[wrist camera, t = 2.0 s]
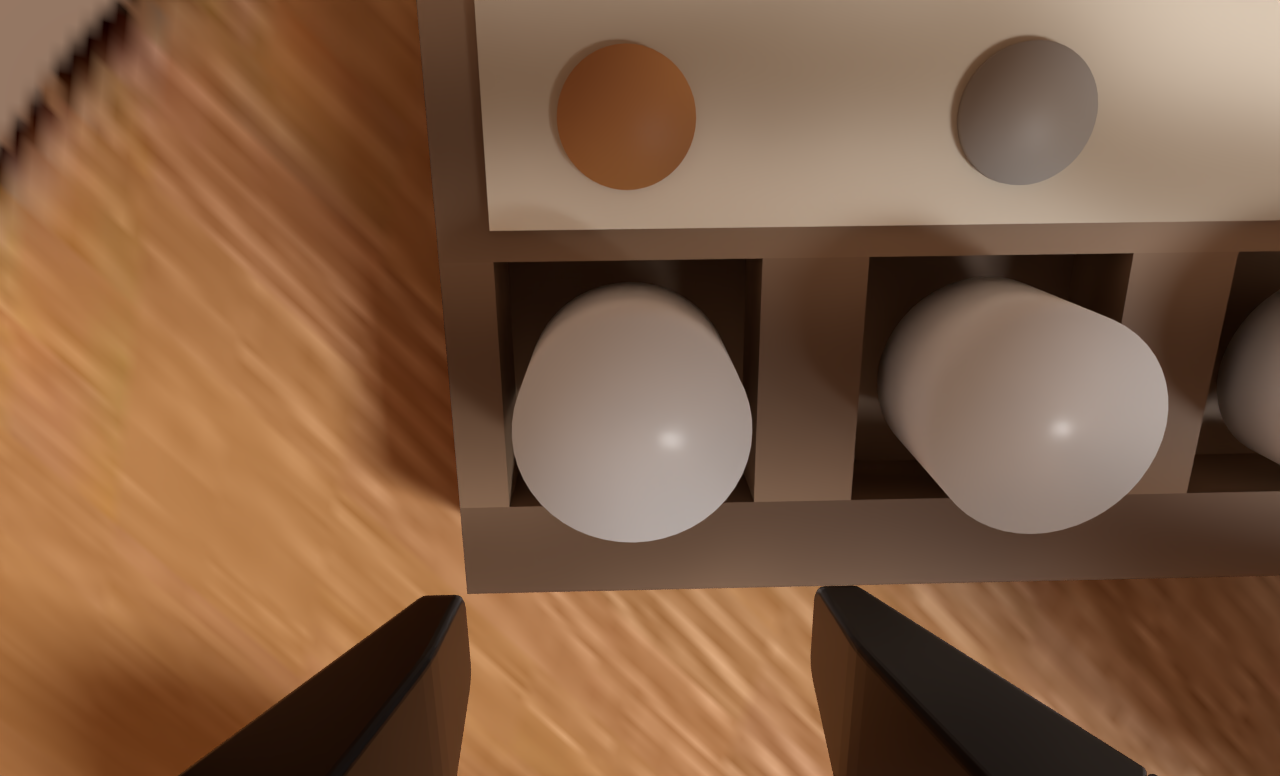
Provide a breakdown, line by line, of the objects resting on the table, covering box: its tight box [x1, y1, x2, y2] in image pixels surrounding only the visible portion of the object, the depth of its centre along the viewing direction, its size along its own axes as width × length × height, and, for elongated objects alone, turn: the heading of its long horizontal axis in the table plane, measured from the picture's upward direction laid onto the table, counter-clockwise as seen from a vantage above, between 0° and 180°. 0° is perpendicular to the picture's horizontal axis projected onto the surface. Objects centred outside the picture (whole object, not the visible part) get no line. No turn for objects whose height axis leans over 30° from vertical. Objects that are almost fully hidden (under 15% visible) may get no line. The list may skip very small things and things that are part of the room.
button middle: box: [877, 277, 1168, 534], centre depth 15 cm, size 4×4×3 cm
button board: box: [416, 0, 1280, 594], centre depth 17 cm, size 12×21×3 cm, turn 91°
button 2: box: [512, 282, 752, 542], centre depth 15 cm, size 4×4×3 cm
